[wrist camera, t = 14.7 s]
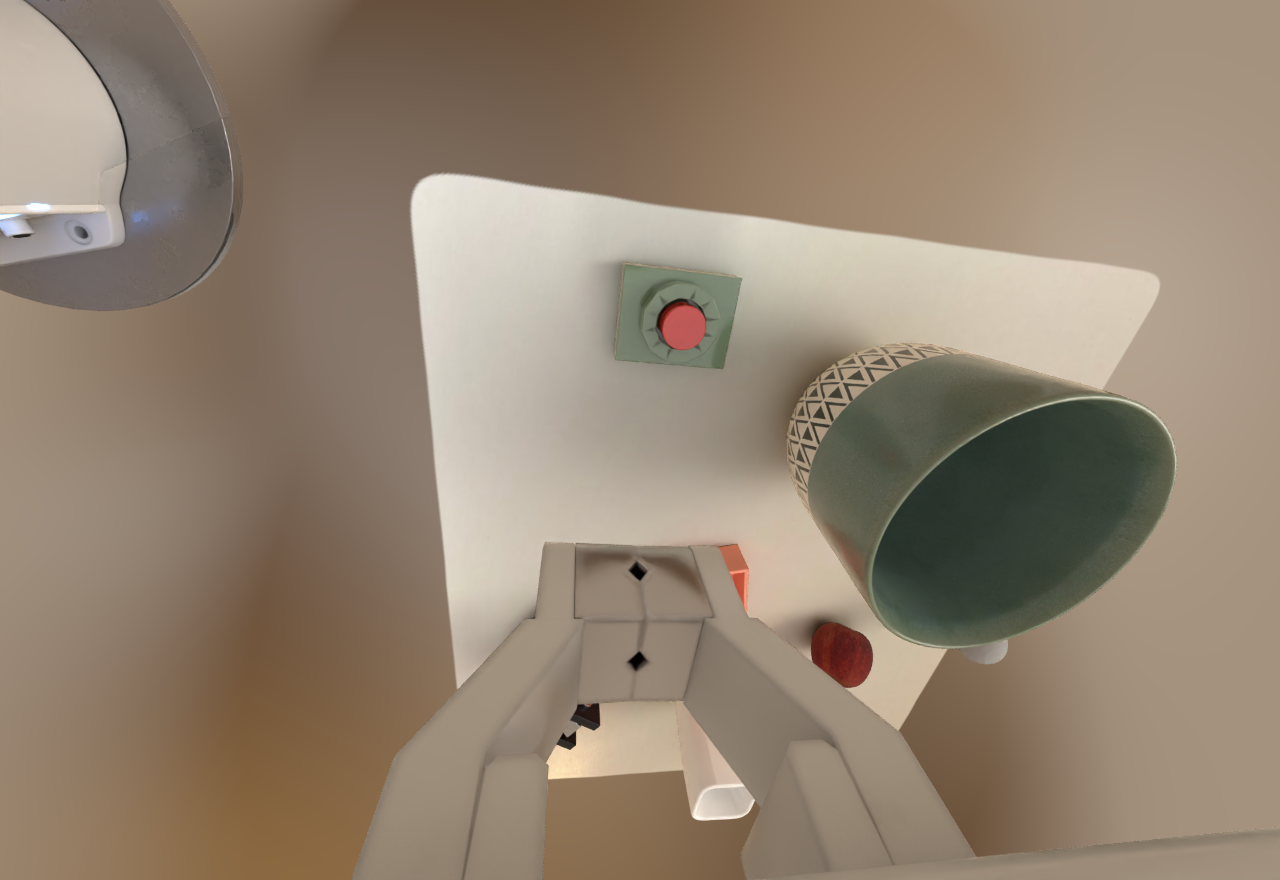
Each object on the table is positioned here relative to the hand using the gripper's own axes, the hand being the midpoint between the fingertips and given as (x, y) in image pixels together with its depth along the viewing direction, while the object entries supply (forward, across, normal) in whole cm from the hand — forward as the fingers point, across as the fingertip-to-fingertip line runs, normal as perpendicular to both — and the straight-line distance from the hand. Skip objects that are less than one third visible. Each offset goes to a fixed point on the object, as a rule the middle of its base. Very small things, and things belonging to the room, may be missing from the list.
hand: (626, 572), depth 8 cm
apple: (+35, -36, +42) cm, 66 cm away
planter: (+35, -27, +10) cm, 46 cm away
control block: (+35, -8, +2) cm, 36 cm away
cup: (+35, -19, +53) cm, 67 cm away
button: (+31, -8, +2) cm, 32 cm away
